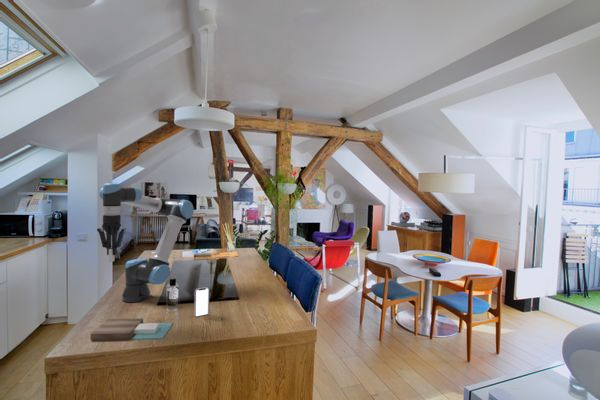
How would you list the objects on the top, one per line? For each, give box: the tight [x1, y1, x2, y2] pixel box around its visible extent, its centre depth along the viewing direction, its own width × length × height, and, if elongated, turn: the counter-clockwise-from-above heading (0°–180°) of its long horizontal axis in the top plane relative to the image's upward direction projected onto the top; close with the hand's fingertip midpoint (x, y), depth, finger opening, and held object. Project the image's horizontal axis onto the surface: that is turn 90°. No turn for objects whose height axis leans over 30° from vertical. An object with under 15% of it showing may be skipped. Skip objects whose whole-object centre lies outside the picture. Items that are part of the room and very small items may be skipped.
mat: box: [131, 322, 174, 341], centre depth 143 cm, size 15×13×1 cm
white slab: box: [134, 322, 160, 335], centre depth 143 cm, size 6×9×2 cm, turn 96°
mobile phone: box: [194, 286, 210, 318], centre depth 161 cm, size 8×1×15 cm, turn 124°
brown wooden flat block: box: [90, 317, 144, 342], centre depth 141 cm, size 15×16×3 cm
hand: (111, 261), depth 153 cm, fingers closed
